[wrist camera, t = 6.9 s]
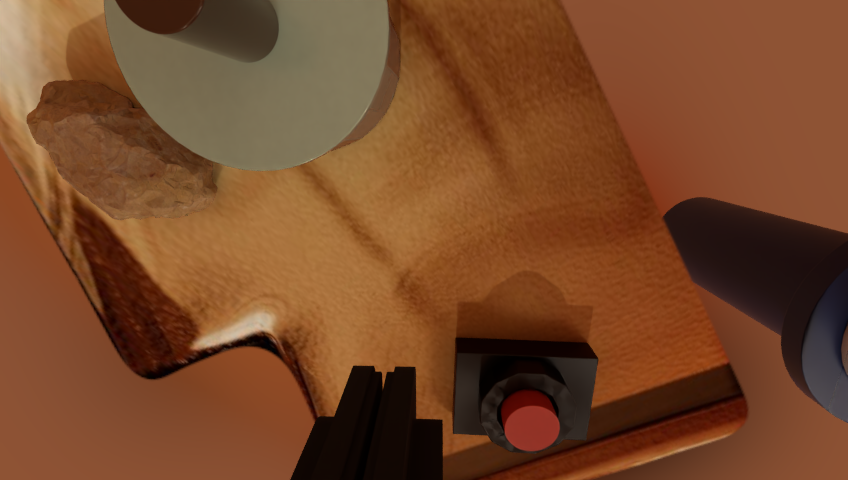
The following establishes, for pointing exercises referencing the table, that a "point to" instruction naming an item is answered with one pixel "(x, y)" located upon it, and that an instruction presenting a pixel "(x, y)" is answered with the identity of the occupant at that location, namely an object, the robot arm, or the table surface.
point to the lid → (253, 73)
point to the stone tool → (119, 153)
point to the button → (529, 420)
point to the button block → (521, 384)
